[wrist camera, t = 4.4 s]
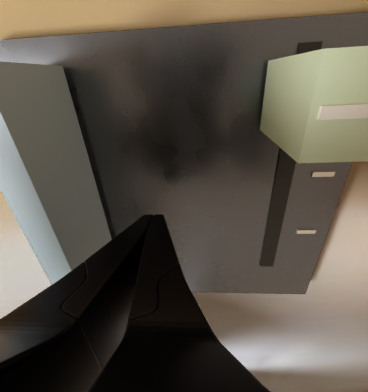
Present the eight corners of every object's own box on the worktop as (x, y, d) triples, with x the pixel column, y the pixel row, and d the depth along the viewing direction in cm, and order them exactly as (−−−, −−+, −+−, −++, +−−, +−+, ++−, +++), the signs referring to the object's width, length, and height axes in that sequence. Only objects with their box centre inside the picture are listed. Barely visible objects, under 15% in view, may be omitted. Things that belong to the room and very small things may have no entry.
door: (131, 292, 15) (113, 352, 12) (107, 292, 15) (82, 351, 12) (71, 65, 8) (-12, 58, 5) (28, 68, 9) (-80, 63, 5)
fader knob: (333, 127, 9) (424, 161, 5) (259, 129, 9) (299, 164, 6) (353, 55, 8) (490, 37, 4) (268, 60, 8) (326, 47, 4)
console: (299, 281, 15) (305, 295, 14) (87, 278, 17) (80, 291, 16) (385, 16, 8) (410, 7, 7) (-8, 45, 9) (-32, 41, 8)
